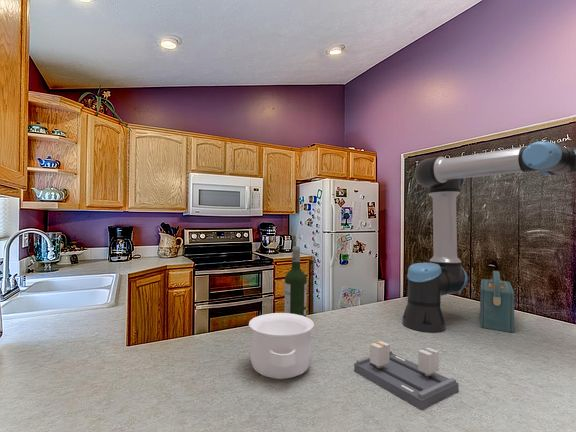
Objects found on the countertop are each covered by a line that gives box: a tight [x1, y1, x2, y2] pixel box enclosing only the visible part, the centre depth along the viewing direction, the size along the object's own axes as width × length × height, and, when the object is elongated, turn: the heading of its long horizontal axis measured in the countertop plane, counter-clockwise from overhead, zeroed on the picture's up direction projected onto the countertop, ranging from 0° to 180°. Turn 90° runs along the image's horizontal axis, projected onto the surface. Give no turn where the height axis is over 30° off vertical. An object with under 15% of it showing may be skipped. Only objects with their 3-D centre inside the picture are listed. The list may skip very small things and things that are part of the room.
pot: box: [248, 312, 315, 380], centre depth 84 cm, size 22×17×12 cm
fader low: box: [369, 340, 391, 368], centre depth 81 cm, size 3×4×6 cm
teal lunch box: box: [479, 270, 515, 333], centre depth 127 cm, size 26×11×20 cm, turn 148°
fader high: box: [417, 347, 440, 376], centre depth 77 cm, size 3×4×6 cm
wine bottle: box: [283, 245, 308, 317], centre depth 115 cm, size 8×8×30 cm
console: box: [353, 350, 460, 411], centre depth 79 cm, size 20×14×3 cm
